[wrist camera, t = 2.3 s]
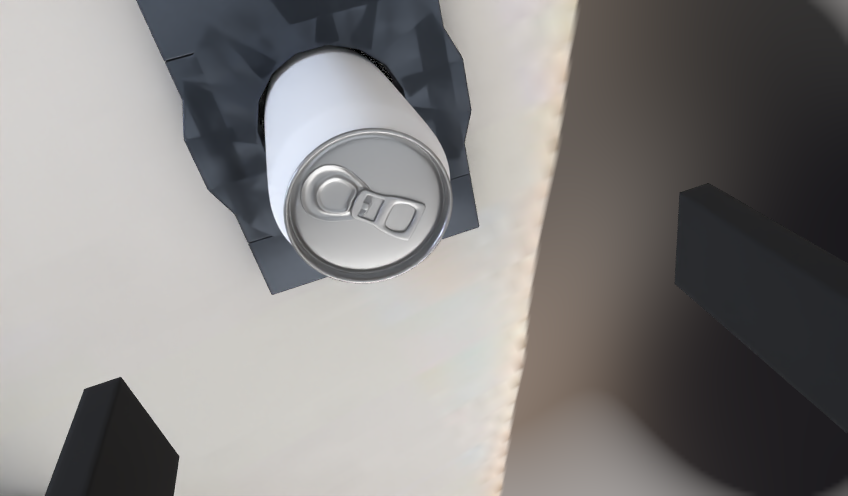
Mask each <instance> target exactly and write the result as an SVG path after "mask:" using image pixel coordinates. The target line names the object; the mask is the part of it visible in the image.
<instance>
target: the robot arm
mask: <svg viewBox="0 0 848 496" xmlns="http://www.w3.org/2000/svg"><path fill="white" fill-rule="evenodd" d="M675 284H676V285H677V286H678V287H679V288H680V289H681V290H683V291H684V292H685V293H686V294H687V295H689V297H691V298H692V299H693V300H694V301H695V302H696V303H698V304H699V305H700V306H701V307H702V308H703V309H704V310H706V311H707V312H708V313H709V314H710V315H711V316H712V317H714V318H715V319H716V320H717V321H718V322H719V323H721V324H722V325H723V326H724V327H725V328H726V329H727V330H729V331H730V332H731V333H732V334H733V335H734V336H735V337H737V338H738V339H739V340H740V341H741V342H742V343H744V344H745V345H746V346H747V347H748V348H749V349H751V350H752V351H753V352H754V353H755V354H756V355H757V356H759V357H760V358H761V359H762V360H763V361H764V362H765V363H767V364H768V365H769V366H770V367H771V368H772V369H773V370H775V371H776V372H777V373H778V374H779V375H780V376H782V377H783V378H784V379H785V380H786V381H787V382H788V383H790V384H791V385H792V386H793V387H794V388H795V389H797V390H798V391H799V392H800V393H801V394H802V395H803V396H805V397H806V398H807V399H808V400H809V401H810V402H811V403H813V404H814V405H815V406H816V407H817V408H818V409H820V410H821V411H822V412H823V413H824V414H825V415H826V416H828V417H829V418H830V419H831V420H832V421H834V422H835V423H836V424H837V425H838V426H839V427H840V428H842V429H843V430H844V431H845V432H846V433H847V434H848V264H847V263H846V262H844V261H842V260H841V259H839V258H837V257H835V256H834V255H832V254H830V253H829V252H827V251H825V250H823V249H822V248H820V247H818V246H816V245H815V244H813V243H811V242H810V241H808V240H806V239H804V238H803V237H801V236H799V235H797V234H795V233H794V232H792V231H791V230H789V229H787V228H785V227H784V226H782V225H780V224H778V223H777V222H775V221H773V220H771V219H769V218H768V217H766V216H765V215H763V214H761V213H759V212H758V211H756V210H754V209H753V208H751V207H749V206H747V205H746V204H744V203H742V202H741V201H739V200H737V199H735V198H734V197H732V196H730V195H728V194H727V193H725V192H723V191H721V190H720V189H718V188H716V187H715V186H713V185H711V184H709V183H707V184H704V185H701V186H698V187H695V188H692V189H689V190H686V191H683V192H680V196H679V214H678V232H677V250H676V268H675ZM178 462H179V455H178V454H177V453H176V451H175V450H174V448H173V447H172V446H171V444H170V443H169V442H168V440H167V439H166V438H165V436H164V435H163V433H162V432H161V431H160V429H159V428H158V427H157V425H156V424H155V423H154V421H153V420H152V418H151V417H150V416H149V414H148V413H147V412H146V410H145V409H144V408H143V406H142V405H141V403H140V402H139V401H138V399H137V398H136V397H135V395H134V394H133V392H132V391H131V390H130V388H129V387H128V386H127V384H126V383H125V382H124V380H123V379H122V377H119V378H116V379H113V380H110V381H107V382H104V383H101V384H98V385H95V386H92V387H89V388H86V389H84V392H83V394H82V397H81V400H80V402H79V405H78V408H77V410H76V413H75V416H74V419H73V421H72V424H71V427H70V429H69V432H68V435H67V437H66V440H65V443H64V445H63V448H62V451H61V454H60V456H59V459H58V462H57V464H56V467H55V470H54V472H53V475H52V478H51V481H50V483H49V486H48V489H47V491H46V494H45V496H174V489H175V483H176V476H177V469H178Z"/></svg>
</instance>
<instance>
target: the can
mask: <svg viewBox="0 0 848 496" xmlns="http://www.w3.org/2000/svg"><path fill="white" fill-rule="evenodd" d="M264 121H265V144H266V163H267V179H268V191H269V199H270V204H271V208H272V212H273V215H274V218H275V220H276V223H277V225H278V227H279V229H280V230H281V232H282V233H283V235H284V236H285V238H286V239H287V240H288V241H289V242H290V243H291V245H292V246H293V247H294V249H295V250H296V252H297V253H298V255H299V256H300V257H301V258H302V259H303V260H304V261H305V262H306V263H307V264H308V265H309V266H311V267H312V268H313V269H315V270H316V271H318V272H320V273H321V274H323V275H326V276H328V277H330V278H333V279H336V280H339V281H344V282H350V283H374V282H380V281H384V280H388V279H391V278H394V277H397V276H399V275H401V274H404V273H406V272H407V271H409V270H411V269H412V268H414V267H416V266H417V265H418V264H420V263H421V262H422V261H423V260H424V259H426V258H427V257H428V256H429V255H430V254H431V252H432V251H433V250H434V249H435V248H436V246H437V245H438V244H439V242H440V241H441V239H442V237H443V235H444V233H445V231H446V229H447V227H448V224H449V221H450V217H451V212H452V203H453V197H452V188H451V183H450V172H449V166H448V162H447V158H446V155H445V153H444V150H443V148H442V146H441V144H440V142H439V141H438V139H437V137H436V136H435V134H434V133H433V132H432V130H431V129H430V128H429V126H428V125H427V124H426V123H425V121H424V120H423V119H422V118H421V117H420V115H419V114H418V113H417V112H416V111H415V110H414V108H413V107H412V106H411V105H410V104H409V103H408V101H407V100H406V99H405V98H404V97H403V96H402V95H401V93H400V92H399V91H398V90H397V89H396V88H395V87H394V85H393V84H392V83H391V82H390V81H389V80H388V79H387V77H386V76H385V75H384V74H383V73H382V72H381V71H380V70H379V69H378V68H377V67H376V66H375V65H374V64H373V63H372V62H371V61H370V60H369V59H367V58H366V57H364V56H363V55H361V54H359V53H357V52H355V51H353V50H351V49H348V48H344V47H338V46H331V45H326V46H322V47H319V48H315V49H312V50H308V51H304V52H301V53H297V54H296V55H294V56H293V57H292V58H291V59H289V60H288V61H287V62H286V63H285V64H283V65H282V66H281V67H280V68H279V69H277V70H276V72H275V73H274V75H273V77H272V79H271V81H270V83H269V86H268V89H267V93H266V98H265V109H264Z"/></svg>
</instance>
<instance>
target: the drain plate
mask: <svg viewBox="0 0 848 496" xmlns="http://www.w3.org/2000/svg"><path fill="white" fill-rule="evenodd" d="M136 1H137V3H138V5H139V8H140V10H141V12H142V14H143V16H144V18H145V21H146V23H147V25H148V27H149V29H150V31H151V34H152V36H153V38H154V40H155V42H156V44H157V47H158V49H159V51H160V53H161V55H162V57H163V60H164V61H166V62H165V64H166V66H167V68H168V70H169V72H170V75H171V77H172V79H173V81H174V83H175V86H176V88H177V90H178V92H179V94H180V96H181V99H182V101H183V135H184V141H185V143H186V145H187V147H188V149H189V151H190V153H191V155H192V158H193V160H194V162H195V164H196V166H197V168H198V170H199V172H200V174H201V176H202V178H203V181H204V183H205V185H206V187H207V189H208V190H209V191H210V192H211V193H212V194H213V195H214V196H215V197H216V198H217V199H218V200H220V201H221V202H222V203H223V204H224V205H225V206H226V207H227V208H228V209H229V210H231V211H232V212H233V213H234V214H235V216H236V218H237V220H238V222H239V224H240V227H241V229H242V231H243V233H244V235H245V238H246V240H247V242H248V243H249V246H250V249H251V251H252V253H253V255H254V257H255V259H256V262H257V264H258V266H259V268H260V270H261V273H262V275H263V277H264V279H265V281H266V283H267V286H268V288H269V290H270V292H271V294H272V295H274V294H277V293H280V292H283V291H286V290H289V289H292V288H295V287H298V286H301V285H304V284H307V283H310V282H313V281H316V280H319V279H322V278H325V277H328V276H326V275H323V274H321V273H320V272H318V271H316V270H315V269H313V268H312V267H311V266H309V265H308V264H307V263H306V262H305V261H304V260H303V259H302V258H301V257H300V256H299V255H298V253H297V252H296V250H295V249H294V247H293V246H292V245H291V243H290V242H289V241H288V240H287V239H286V238H285V236H284V235H283V233H282V232H281V230H280V229H279V227H278V225H277V223H276V220H275V218H274V215H273V212H272V208H271V204H270V199H269V191H268V179H267V163H266V144H265V135H264V132H263V130H262V127H261V125H260V122H259V119H258V110H259V100H260V98H261V96H262V94H263V92H264V90H265V88H266V86H267V84H268V82H269V80H270V78H271V76H272V74H273V73H274V72H275V71H276V70H277V69H279V68H280V67H281V66H282V65H283V64H285V63H286V62H287V61H288V60H289V59H291V58H292V57H293V56H294V55H296V54H297V53H301V52H304V51H308V50H312V49H315V48H319V47H322V46H326V45H331V46H338V47H346V48H353V49H359V50H361V51H362V52H364V53H366V54H367V55H369V56H371V57H372V58H374V59H376V60H377V61H379V62H381V63H382V65H383V66H384V67H385V69H386V70H387V71H388V73H389V74H390V76H391V77H392V80H393V84H394V87H395V88H396V89H397V90H398V91H399V92H400V93H401V95H402V96H403V97H404V98H405V99H406V100H407V101H408V103H409V104H410V105H411V106H412V107H413V108H414V110H415V111H416V112H417V113H418V114H419V115H420V117H421V118H422V119H423V120H424V121H425V123H426V124H427V125H428V126H429V128H430V129H431V130H432V132H433V133H434V134H435V136H436V137H437V139H438V141H439V142H440V144H441V146H442V148H443V150H444V153H445V155H446V158H447V162H448V166H449V172H450V183H451V188H452V197H453V203H452V212H451V217H450V221H449V224H448V227H447V229H446V231H445V233H444V235H443V237H442V239H444V238H447V237H450V236H453V235H456V234H459V233H462V232H465V231H468V230H471V229H474V228H478V227H479V222H478V216H477V211H476V205H475V199H474V194H473V188H472V183H471V177H470V174H469V173H470V171H469V166H468V160H467V155H466V149H465V144H464V142H465V138H466V133H467V128H468V124H469V119H470V114H471V105H470V99H469V93H468V87H467V81H466V75H465V69H464V63H463V58H462V56H461V54H460V53H459V51H458V50H457V48H456V46H455V45H454V43H453V42H452V40H451V38H450V37H449V35H448V34H447V32H446V30H445V29H444V27H443V21H442V16H441V10H440V5H439V0H136Z"/></svg>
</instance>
